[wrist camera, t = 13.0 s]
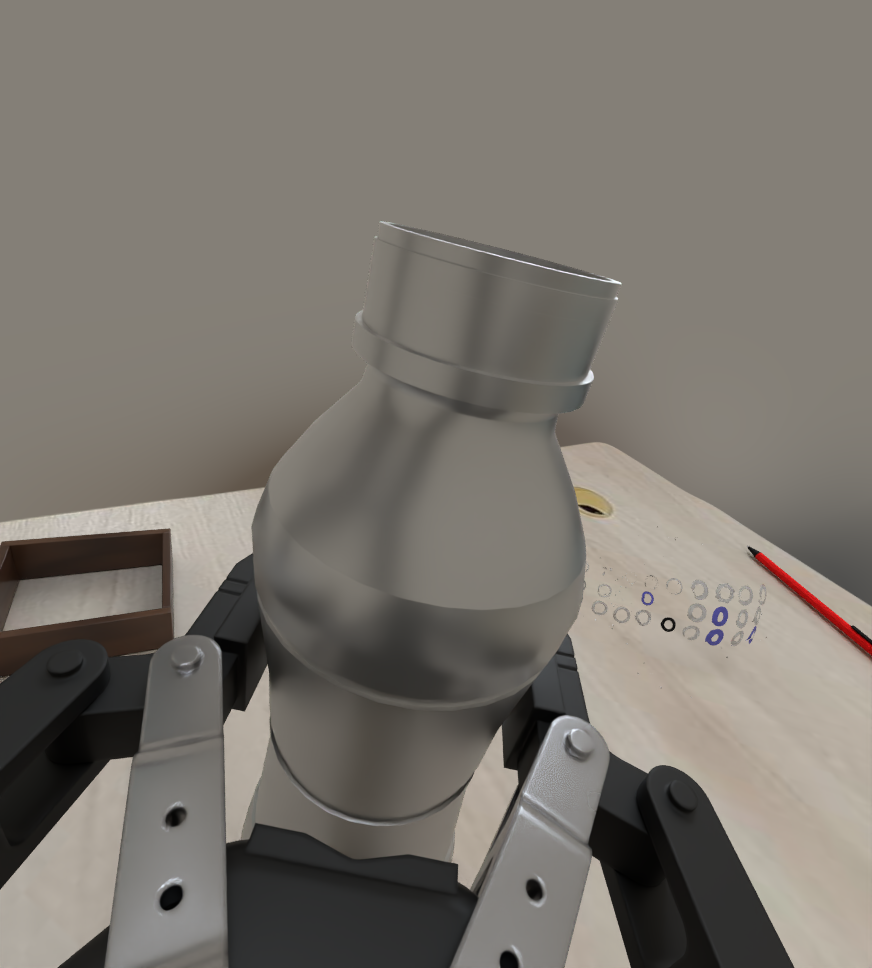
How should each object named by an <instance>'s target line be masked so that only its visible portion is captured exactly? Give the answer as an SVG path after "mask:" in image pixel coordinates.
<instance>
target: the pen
mask: <svg viewBox="0 0 872 968" xmlns="http://www.w3.org/2000/svg"><path fill="white" fill-rule="evenodd" d="M747 547H748V549H749V550H750V552H751V553H752V554H753V556H754V557H755V558H756V559H757V560H758V561H760V562H761V563H762V564H763V565H764V566H765V567H767V568H768V569H769V570H770V571H771V572H773V573H774V574H775V575H776V576H777V577H779V578H780V579H781V580H782V581H783V582H785V583H786V584H787V585H788V586H789V587H790V588H792V589H793V590H794V591H795V592H796V593H798V594H799V595H800V596H801V597H802V598H804V599H805V600H806V601H807V602H808V603H810V604H811V605H812V606H813V607H814V608H815V609H817V610H818V611H819V612H820V613H821V614H823V615H824V616H825V617H826V618H827V619H829V620H830V621H831V622H832V623H833V624H834V625H836V626H837V627H838V628H839V629H840V630H842V631H843V632H844V633H845V634H846V635H848V636H849V637H850V638H851V639H852V640H854V641H855V642H856V643H857V644H858V645H859V646H861V647H862V648H863V649H864V650H865V651H867V652H868V653H869V654H870V655H871V656H872V640H871V639H870V638H868V637H867V636H866V635H865V634H864V633H862V632H861V631H860V630H859V629H857V628H856V627H855V626H850V625H849V624H848V623H847V622H845V621H844V620H843V619H842V618H840V617H839V616H838V615H837V614H836V613H834V612H833V611H832V610H831V609H829V608H828V607H827V606H826V605H825V604H823V603H822V602H821V601H820V600H818V599H817V598H816V597H815V596H814V595H812V594H811V593H810V592H809V591H807V590H806V589H805V588H804V587H803V586H801V585H800V584H799V583H798V582H796V581H795V580H794V579H793V578H792V577H790V576H789V575H788V574H787V573H785V572H784V571H783V570H782V569H781V568H779V567H778V566H777V565H776V564H774V563H773V562H772V561H771V560H770V559H768V558H767V557H766V556H765V555H763V554H762V553H761V552H759V551H757V550H755V549H753V548H751V547H749V546H747Z"/></svg>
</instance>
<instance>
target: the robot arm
mask: <svg viewBox="0 0 872 968" xmlns="http://www.w3.org/2000/svg"><path fill="white" fill-rule="evenodd" d="M267 664H268V662H267V656H266V649H265V643H264V637H263V630H262V624H261V618H260V611H259V605H258V598H257V589H256V587H255V578H254V564H253V553H252V554H251V555H249V556H248V557H246V558H245V559H243V560H241V561H240V562H238V563H237V564H236V565H235V566H234V568H233V569H232V571H231V572H230V573H229V575H228V576H227V579H226V580H224V582H223V583H222V585H221V586H220V587H219V590H218V591H217V592H216V593H215V594H214V596H213V597H212V599H211V600H210V601H209V603H208V604H207V606H206V607H205V608H204V610H203V611H202V613H201V614H200V615H199V617H198V618H197V619H196V621H195V622H194V624H193V625H192V626H191V628H190V629H189V631H188V632H187V633H186V634H185V636H181V637H178V638H175V639H173V640H170V641H169V642H167V643H165V644H164V645H163V646H161V647H160V648H159V649H158V650H157V651H156V652H155V653H151V654H146V655H134V656H118V657H108V655H107V651H106V649H105V648H104V647H103V646H102V645H101V644H100V643H97V642H95V641H92V640H86V639H75V640H68V641H64V642H60V643H57V644H55V645H52V646H50V647H48V648H46V649H44V650H43V651H41V652H40V653H38V654H37V655H35V656H34V657H33V658H32V659H30V660H29V661H28V662H27V663H25V664H24V665H23V666H22V667H21V668H19V669H18V670H17V671H16V672H14V673H13V674H12V675H11V676H9V677H8V678H7V679H6V680H4V681H3V682H2V683H1V684H0V889H1V888H2V887H3V886H4V884H5V883H6V882H7V881H8V880H9V879H10V877H11V876H12V875H13V874H14V873H15V871H16V870H17V869H18V868H19V867H20V866H21V864H22V863H23V862H24V861H25V860H26V859H27V857H28V856H29V855H30V854H31V853H32V851H33V850H34V849H35V848H36V847H37V846H38V844H39V843H40V842H41V841H42V840H43V838H44V837H45V836H46V835H47V834H48V833H49V831H50V830H51V829H52V828H53V827H54V826H55V824H56V823H57V822H58V821H59V820H60V818H61V817H62V816H63V815H64V814H65V813H66V811H67V810H68V809H69V808H70V807H71V805H72V804H73V803H74V802H75V801H76V800H77V798H78V797H79V796H80V795H81V794H82V793H83V791H84V790H85V789H86V788H87V787H88V785H89V784H90V783H91V782H92V781H93V780H94V778H95V777H96V776H97V775H98V774H99V772H100V771H101V770H102V769H103V768H104V767H105V765H106V764H107V763H108V762H109V761H110V760H111V759H119V758H127V757H133V760H132V766H131V772H130V780H129V787H128V795H127V802H126V810H125V817H124V824H123V832H122V839H121V847H120V854H119V862H118V869H117V877H116V884H115V892H114V899H113V907H112V914H111V921H110V925H109V926H108V927H107V928H106V929H104V930H103V931H102V932H101V933H99V934H98V935H97V936H96V937H95V938H93V939H92V940H91V941H90V942H88V943H87V944H86V945H85V946H83V947H82V948H81V949H80V950H79V951H77V952H76V953H75V954H74V955H72V956H71V957H70V958H69V959H68V960H66V961H65V962H64V963H63V964H61V965H60V966H59V967H58V968H564V967H565V963H566V959H567V955H568V951H569V947H570V943H571V939H572V935H573V931H574V927H575V923H576V919H577V915H578V911H579V907H580V903H581V899H582V895H583V891H584V887H585V883H586V879H587V875H588V871H589V867H590V863H591V858H592V856H593V857H595V858H597V859H598V860H600V863H601V867H602V870H603V873H604V877H605V880H606V884H607V887H608V890H609V894H610V897H611V901H612V904H613V908H614V911H615V914H616V918H617V921H618V925H619V928H620V931H621V935H622V938H623V942H624V945H625V948H626V952H627V955H628V959H629V962H630V966H631V968H794V966H793V964H792V962H791V960H790V958H789V956H788V954H787V952H786V950H785V948H784V946H783V944H782V942H781V940H780V938H779V936H778V934H777V932H776V931H775V929H774V927H773V925H772V923H771V921H770V919H769V917H768V915H767V913H766V911H765V909H764V907H763V905H762V903H761V901H760V899H759V897H758V895H757V893H756V891H755V889H754V887H753V885H752V883H751V881H750V879H749V877H748V875H747V873H746V871H745V869H744V867H743V866H742V864H741V862H740V860H739V858H738V856H737V854H736V852H735V850H734V848H733V846H732V844H731V842H730V840H729V838H728V836H727V834H726V832H725V830H724V828H723V826H722V824H721V822H720V820H719V818H718V816H717V814H716V812H715V810H714V808H713V806H712V804H711V802H710V801H709V799H708V797H707V795H706V794H705V792H704V791H703V790H702V788H701V787H700V786H699V785H698V784H697V783H696V782H695V781H694V780H693V779H692V778H691V777H689V776H688V775H687V774H685V773H684V772H682V771H680V770H678V769H676V768H674V767H671V766H666V765H660V766H656V767H654V768H653V769H652V770H651V771H650V772H649V773H646V772H644V771H642V770H640V769H638V768H636V767H634V766H633V765H631V764H629V763H627V762H625V761H623V760H621V759H620V758H618V757H616V756H615V755H614V754H612V753H611V752H610V751H609V750H608V747H607V744H606V742H605V740H604V739H603V737H602V736H601V734H600V733H599V732H598V731H597V730H596V729H595V728H594V727H593V726H592V725H591V724H590V722H589V718H588V714H587V709H586V705H585V700H584V696H583V691H582V687H581V682H580V678H579V673H578V672H577V664H576V660H575V658H574V651H573V646H572V641H571V638H570V637H569V635H568V634H567V635H566V637H565V638H564V640H563V642H562V644H561V645H560V647H559V649H558V650H557V652H556V653H555V654H554V656H553V657H552V658H551V660H550V661H549V662H548V664H547V665H546V666H545V668H544V669H543V670H542V671H541V672H540V674H539V675H538V676H537V678H536V679H535V681H534V682H533V683H532V685H531V686H530V687H529V689H528V690H527V691H526V693H525V694H524V695H523V697H522V698H521V699H520V701H519V702H518V703H517V705H516V706H515V707H514V709H513V710H512V711H511V713H510V714H509V715H508V717H507V718H506V719H505V721H504V722H503V723H502V736H503V758H504V768H508V769H513V770H518V783H519V784H518V786H517V788H516V789H515V791H514V793H513V796H512V798H511V800H510V803H509V805H508V807H507V809H506V812H505V814H504V816H503V818H502V821H501V823H500V825H499V828H498V830H497V832H496V834H495V837H494V839H493V841H492V843H491V846H490V848H489V850H488V853H487V855H486V857H485V859H484V862H483V864H482V866H481V868H480V870H479V872H478V874H477V876H476V878H475V880H474V882H473V884H472V886H471V889H470V890H469V889H468V888H467V887H465V886H464V885H462V884H460V883H459V882H458V864H455V863H450V862H445V861H440V860H435V859H430V858H425V857H421V856H416V855H411V854H405V855H396V856H387V857H378V858H368V859H352V858H350V857H348V856H346V855H344V854H342V853H341V852H339V851H337V850H335V849H333V848H332V847H330V846H328V845H326V844H324V843H323V842H321V841H319V840H317V839H315V838H314V837H312V836H310V835H308V834H306V833H303V832H298V831H293V830H288V829H283V828H278V827H274V826H269V825H264V824H259V823H255V825H254V828H253V830H252V833H251V836H250V838H249V839H246V840H239V841H234V842H230V843H226V823H225V770H224V734H223V725H224V723H225V721H226V719H227V717H228V715H229V713H230V711H231V709H236V710H240V711H245V710H246V708H247V706H248V704H249V701H250V699H251V697H252V695H253V693H254V691H255V689H256V687H257V685H258V683H259V681H260V679H261V677H262V674H263V672H264V670H265V668H266V666H267Z"/></svg>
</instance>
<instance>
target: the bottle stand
mask: <svg viewBox="0 0 872 968" xmlns="http://www.w3.org/2000/svg"><path fill="white" fill-rule="evenodd" d="M160 564H162V608H161V609H155V610H148V611H141V612H134V613H127V614H120V615H113V616H106V617H100V618H93V619H86V620H79V621H72V622H65V623H58V624H51V625H44V626H38V627H31V628H24V629H17V630H10V631H3V632H2V630H3V627H4V624H5V621H6V618H7V615H8V612H9V609H10V606H11V603H12V600H13V597H14V594H15V591H16V588H17V585H18V582H19V580H21V579H30V578H39V577H49V576H58V575H67V574H77V573H86V572H95V571H104V570H114V569H123V568H132V567H141V566H151V565H160ZM75 639H86V640H92V641H95V642H97V643H100V644H101V645H102V646H103V647H104V648H105V649H106V651H107V655H108V657H113V656H118V655H124V654H130V653H135V652H141V651H146V650H152V649H158V648H160V647H161V646H163V645H164V644H165V643H167V642H169V641H170V640H173V639H174V613H173V558H172V544H171V530H170V529H158V530H145V531H132V532H119V533H106V534H94V535H81V536H68V537H55V538H42V539H30V540H17V541H4V542H2V543H1V545H0V677H1V676H6V675H12V674H13V673H14V672H16V671H17V670H18V669H19V668H21V667H22V666H23V665H24V664H25V663H27V662H28V661H29V660H30V659H32V658H33V657H34V656H35V655H37V654H38V653H40V652H41V651H43V650H44V649H46V648H48V647H50V646H52V645H55V644H57V643H60V642H64V641H68V640H75Z"/></svg>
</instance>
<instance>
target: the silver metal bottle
mask: <svg viewBox="0 0 872 968" xmlns="http://www.w3.org/2000/svg"><path fill="white" fill-rule="evenodd" d="M621 285H622V283H620V282H617V281H615V280H612V279H609V278H606V277H603V276H599V275H596V274H593V273H589V272H585V271H582V270H578V269H575V268H572V267H568V266H565V265H561V264H557V263H553V262H550V261H546V260H543V259H539V258H535V257H531V256H527V255H523V254H520V253H516V252H512V251H509V250H505V249H501V248H497V247H493V246H489V245H485V244H481V243H477V242H473V241H468V240H465V239H461V238H457V237H453V236H448V235H444V234H440V233H436V232H432V231H427V230H422V229H418V228H414V227H409V226H405V225H400V224H395V223H389V222H383V221H379V230H378V236H375V237H374V242H373V250H372V256H371V262H370V268H369V275H368V281H367V288H366V294H365V301H364V307H363V310H362V311H359V312H358V313H357V314H356V315H355V322H354V329H353V335H352V348H353V350H354V351H355V353H356V354H357V355H358V356H359V357H360V358H362V359H363V360H364V361H365V362H366V363H367V366H366V369H365V371H364V374H363V377H362V379H361V381H360V382H359V383H358V384H356V385H355V386H354V387H353V388H352V389H351V390H350V391H349V392H347V393H346V394H345V395H344V396H343V397H342V398H340V399H339V400H338V401H337V402H336V403H335V404H334V405H332V406H331V407H330V408H329V409H328V410H327V411H326V412H325V413H323V414H322V415H321V416H320V417H319V418H318V419H317V420H315V421H314V423H313V424H312V425H311V426H310V427H309V428H308V429H307V430H306V431H305V432H304V433H303V434H302V436H301V437H300V438H299V439H298V440H297V441H296V442H295V443H294V444H293V445H292V447H291V448H290V449H289V450H288V451H287V452H286V453H285V454H284V455H283V457H282V458H281V459H280V461H279V462H278V463H277V465H276V466H275V467H274V469H273V470H272V473H271V475H270V477H269V480H268V482H267V484H266V487H265V489H264V492H263V494H262V497H261V499H260V501H259V504H258V506H257V509H256V513H255V516H254V519H253V523H252V540H253V564H254V578H255V587H256V589H257V598H258V605H259V611H260V618H261V624H262V630H263V637H264V643H265V649H266V656H267V662H268V668H269V703H270V738H269V743H268V748H267V753H266V757H265V762H264V767H263V771H262V776H261V778H260V780H259V782H258V784H257V786H256V789H255V792H254V795H253V797H252V800H251V803H250V806H249V809H248V812H247V816H246V819H245V822H244V826H243V829H242V835H241V840H246V839H249V838H250V836H251V833H252V830H253V828H254V825H255V823H259V824H264V825H269V826H274V827H278V828H283V829H288V830H293V831H298V832H303V833H306V834H308V835H310V836H312V837H314V838H315V839H317V840H319V841H321V842H323V843H324V844H326V845H328V846H330V847H332V848H333V849H335V850H337V851H339V852H341V853H342V854H344V855H346V856H348V857H350V858H352V859H368V858H378V857H387V856H396V855H405V854H411V855H416V856H421V857H425V858H430V859H435V860H440V861H445V862H450V863H451V862H452V856H453V851H454V841H455V827H456V823H457V820H458V816H459V812H460V809H461V805H462V801H463V798H464V794H465V790H466V788H467V786H468V784H469V782H470V781H471V779H472V776H473V774H474V772H475V770H476V769H477V767H478V766H479V764H480V762H481V760H482V758H483V756H484V755H485V753H486V751H487V749H488V747H489V745H490V743H491V741H492V740H493V738H494V736H495V734H496V732H497V730H498V729H499V727H500V726H501V725H502V723H503V722H504V721H505V719H506V718H507V717H508V715H509V714H510V713H511V711H512V710H513V709H514V707H515V706H516V705H517V703H518V702H519V701H520V699H521V698H522V697H523V695H524V694H525V693H526V691H527V690H528V689H529V687H530V686H531V685H532V683H533V682H534V681H535V679H536V678H537V676H538V675H539V674H540V672H541V671H542V670H543V669H544V668H545V666H546V665H547V664H548V662H549V661H550V660H551V658H552V657H553V656H554V654H555V653H556V652H557V650H558V649H559V647H560V645H561V644H562V642H563V640H564V638H565V637H566V635H567V633H568V631H569V630H570V628H571V627H572V625H573V623H574V622H575V620H576V619H577V616H578V612H579V609H580V606H581V603H582V599H583V590H584V578H585V566H586V544H585V537H584V532H583V527H582V522H581V518H580V513H579V508H578V503H577V499H576V494H575V490H574V487H573V484H572V481H571V478H570V476H569V473H568V470H567V467H566V464H565V461H564V458H563V455H562V452H561V449H560V446H559V443H558V440H557V437H556V434H555V428H556V423H557V418H558V414H559V413H565V412H571V411H574V410H576V409H579V408H580V407H581V406H582V405H583V403H584V401H585V399H586V396H587V394H588V392H589V389H590V387H591V384H592V382H593V379H594V376H593V372H592V371H591V370H590V369H591V366H592V364H593V361H594V359H595V356H596V354H597V351H598V349H599V346H600V344H601V341H602V338H603V336H604V334H605V331H606V329H607V327H608V324H609V322H610V319H611V317H612V314H613V312H614V309H615V307H616V305H617V302H618V300H619V299H618V298H617V297H616V296H617V294H618V291H619V289H620V287H621Z"/></svg>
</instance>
